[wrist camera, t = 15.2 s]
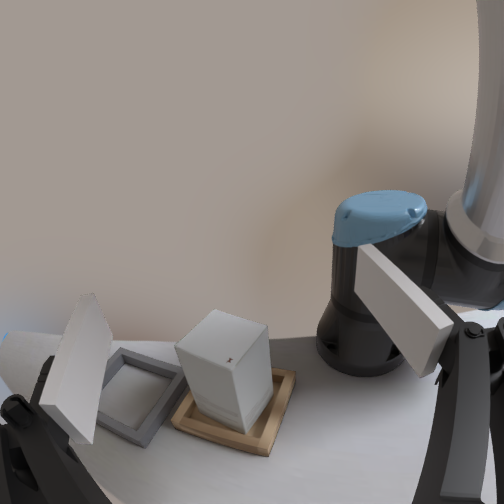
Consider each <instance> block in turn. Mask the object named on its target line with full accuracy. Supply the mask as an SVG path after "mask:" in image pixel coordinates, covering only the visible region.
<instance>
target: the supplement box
mask: <svg viewBox="0 0 504 504" xmlns="http://www.w3.org/2000/svg"><path fill="white" fill-rule="evenodd" d="M174 347H175V349H176V352H177V355H178V358H179V361H180V363H181V366H182V369H183V371H184V374H185V377H186V379H187V382H188V385H189V387H190V390H191V392H192V395H193V397H194V400H195V402H196V405H197V407H198V410H199V412H200V413H201V414H203V415H205V416H207V417H209V418H211V419H213V420H215V421H217V422H219V423H221V424H223V425H225V426H227V427H229V428H231V429H234V430H236V431H238V432H240V433H242V434H245V435H246V434H247V433H248V431H249V430H250V428H251V427H252V426H253V424H254V423H255V422H256V420H257V419H258V417H259V416H260V415H261V413H262V412H263V410H264V409H265V407H266V406H267V405H268V403H269V402H270V400H271V399H272V397H273V395H274V393H273V382H272V371H271V359H270V348H269V337H268V326H267V325H265V324H261V323H258V322H254V321H251V320H248V319H244V318H241V317H238V316H235V315H231V314H228V313H225V312H222V311H219V310H216V309H214V310H212V311H211V312H210V313H209V314H208V315H207V316H206V317H205V318H204V319H203V320H202V321H201V322H199V323H198V324H197V325H196V326H195V327H194V328H193V329H192V330H191V331H190V332H189V333H188V334H187V335H185V336H184V337H183V338H182V339H181V340H180V341H179V342H178V343H176V344H175V345H174Z"/></svg>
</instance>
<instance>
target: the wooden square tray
mask: <svg viewBox="0 0 504 504" xmlns="http://www.w3.org/2000/svg"><path fill="white" fill-rule="evenodd" d="M271 371H272V382H273V393H274V395H273V397H272V399H271V400H270V402H269V403H268V405H267V406H266V407H265V409H264V410H263V412H262V413H261V415H260V416H259V417H258V419H257V420H256V422H255V423H254V424H253V426H252V427H251V428H250V430H249V431H248V433H247V434H246V435H245V434H242V433H240V432H238V431H236V430H234V429H231V428H229V427H227V426H225V425H223V424H221V423H219V422H217V421H215V420H213V419H211V418H209V417H207V416H205V415H203V414H201V413H200V412H199V410H198V407H197V405H196V402H195V400H194V397H193V395H192V392H191V390H190V391H189V392H188V394H187V395H186V397H185V398H184V400H183V402H182V403H181V405H180V406H179V408H178V409H177V411H176V413H175V414H174V416H173V417H172V419H171V422H172V424H173V425H174V427H175V429H177V430H180V431H183V432H186V433H188V434H191V435H194V436H197V437H200V438H203V439H206V440H209V441H212V442H215V443H218V444H222V445H225V446H228V447H232V448H236V449H239V450H243V451H247V452H250V453H254V454H259V455H263V456H267V457H269V454H270V452H271V449H272V447H273V444H274V441H275V439H276V436H277V433H278V430H279V428H280V425H281V422H282V419H283V416H284V414H285V411H286V408H287V405H288V402H289V399H290V396H291V393H292V390H293V387H294V384H295V375H296V371H290V370H284V369H278V368H272V367H271Z"/></svg>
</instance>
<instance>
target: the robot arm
mask: <svg viewBox="0 0 504 504" xmlns="http://www.w3.org/2000/svg"><path fill="white" fill-rule="evenodd" d="M476 2H477V13H478V26H479V83H478V99H477V109H476V119H475V127H474V134H473V141H472V148H471V153H470V159H469V165H468V170H467V175H466V180H465V184H464V188H463V189H460V190H458V191H457V192H455V193H454V194H453V195H452V196H451V197H450V199H449V200H448V203H447V207H446V211H445V212H444V211H437V210H435V211H434V210H428V209H427V205H426V203H425V200H424V199H423V198H422V197H421V196H419V195H417V194H414V193H407V192H406V191H398V190H381V191H371V192H365V193H361V194H358V195H355V196H352V197H350V198H348V199H346V200H345V201H343V202H342V203H341V204H340V205H339V207H338V208H337V210H336V213H335V221H334V232H333V235H332V241H333V261H332V263H333V264H332V284H331V299H330V301H329V303H328V305H327V307H326V309H325V311H324V313H323V316H322V318H321V320H320V322H319V324H318V328H317V338H316V344H317V349H318V351H319V353H320V355H321V357H322V358H323V359H324V360H325V361H326V362H327V363H328V364H329V365H330V366H332V367H333V368H335V369H337V370H339V371H341V372H343V373H346V374H349V375H354V376H361V377H370V376H377V375H382V374H385V373H387V372H389V371H391V370H393V369H395V368H396V367H397V366H399V365H400V364H401V363H402V361H403V360H404V358H405V359H406V360H407V361H408V363H409V364H410V365H411V367H412V368H413V370H414V371H415V372H416V374H417V375H418V377H419V378H422V377H424V376H426V375H428V374H430V373H432V372H434V370H435V368H436V366H437V363H439V364H440V365H441V367H442V369H441V371H440V373H439V375H438V377H437V379H436V382H435V385H437V383H438V381H439V386H438V394H437V401H436V407H435V413H434V419H433V425H432V430H431V435H430V439H429V444H428V448H427V453H426V457H425V461H424V465H423V468H422V472H421V476H420V479H419V483H418V486H417V489H416V492H415V496H414V499H413V502H412V504H485V503H483V502H482V501H481V498H480V497H481V490H482V485H483V479H484V473H485V466H486V458H487V450H488V439H489V426H490V432H491V438H492V445H493V453H494V462H495V473H496V489H497V504H504V317H502V318H501V319H499V321H498V323H497V326H496V327H494V328H487V329H484V328H483V327H482V326H481V325H479V324H478V323H475V322H464V321H463V320H462V319H461V318H460V317H459V316H458V315H457V314H456V313H455V312H454V311H453V310H452V309H451V308H450V307H449V306H448V305H447V304H449V305H456V306H462V307H469V308H475V309H478V310H482V311H490V310H504V0H476ZM112 338H113V334H112V332H111V330H110V328H109V326H108V323H107V322H106V319H105V317H104V315H103V313H102V310H101V308H100V306H99V304H98V301H97V299H96V297H95V294H94V293H91V294H85V295H81V296H80V298H79V301H78V303H77V305H76V307H75V309H74V312H73V314H72V316H71V318H70V321H69V323H68V326H67V328H66V330H65V333H64V335H63V337H62V340H61V342H60V345H59V347H58V350H57V353H56V355H55V356H50V357H49V358H48V359H47V360H46V362H45V363H44V364H43V367H42V369H41V372H40V375H39V377H38V380H37V381H38V383H36V386H35V389H34V391H33V394H32V397H31V400H30V403H28V402H27V401H26V400H25V398H24V397H23V396H21V395H19V394H14V395H11V396H9V397H8V398H7V399H6V400H5V401H4V402H3V404H2V406H1V410H0V414H1V417H2V418H3V419H4V420H5V421H6V422H7V423H8V424H4V425H1V424H0V504H112V503H111V502H110V500H109V499H108V498H107V497H106V495H105V494H104V493H103V492H102V490H101V489H100V488H99V486H98V485H97V484H96V482H95V481H94V480H93V478H92V477H91V475H90V474H89V473H88V471H87V470H86V468H85V467H84V465H83V464H82V462H81V461H80V459H79V458H78V456H77V455H76V453H75V452H74V450H73V449H72V447H71V446H70V445H69V444H68V442H69V437H70V438H71V439H72V440H73V441H74V442H75V443H76V444H88V445H93V438H94V431H95V424H96V418H97V412H98V406H99V400H100V394H101V389H102V384H103V379H104V374H105V369H106V365H107V360H108V355H109V351H110V347H111V343H112Z"/></svg>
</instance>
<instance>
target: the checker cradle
mask: <svg viewBox="0 0 504 504" xmlns="http://www.w3.org/2000/svg"><path fill="white" fill-rule="evenodd" d="M125 362H126V363H129V364H131V365H134V366H137V367H139V368H142V369H145V370H148V371H150V372H153V373H156V374H159V375H162V376H165V377H168V378H171V379H173V380H172V382H171V383H170V384H169V386H168V387H167V389H166V390H165V392H164V393H163V394H162V396H161V397H160V399H159V400H158V402H157V403H156V405H155V406H154V407H153V409H152V410H151V412H150V413H149V415H148V416H147V417H146V419H145V420H144V422H143V423H142V424H141V426H140V427H139V429H138V430H137V431H136V430H134V429H132V428H130V427H128V426H126V425H124V424H122V423H120V422H118V421H116V420H114V419H112V418H110V417H109V416H107V415H105V414H103V413H101V412H99V411H98V412H97V418H96V423H98V424H100V425H102V426H103V427H105V428H107V429H109V430H110V431H112V432H114V433H116V434H118V435H120V436H121V437H123V438H125V439H127V440H129V441H131V442H133V443H135V444H137V445H139V446H141V447H143V448H146V447H147V445H148V444H149V442H150V441H151V439H152V438H153V436H154V435H155V433H156V432H157V430H158V429H159V427H160V426H161V424H162V423H163V421H164V420H165V418H166V417H167V415H168V414H169V412H170V411H171V409H172V408H173V406H174V404H175V403H176V401H177V400H178V398H179V397H180V395H181V394H182V392H183V391H184V389H185V388H186V386H187V384H188V382H187V379H186V377H185V374H184V371H183V369H182V367H179V366H176V365H172V364H169V363H166V362H163V361H159V360H156V359H153V358H150V357H147V356H144V355H141V354H138V353H135V352H132V351H129V350H127V349H124V348H121V347H120V348H119V349H118V350H117V351H116V352H115V353H114V355H113V356H112V357H111V358H110V359H109V360H108V361H107V365H106V369H105V374H104V379H103V384H102V389H103V388H104V387H105V386H106V384H107V383H108V382H109V381H110V380H111V378H112V377H113V376H114V375H115V374H116V373H117V371H118V370H119V369H120V368H121V367H122V366H123V364H124V363H125ZM102 389H101V390H102Z"/></svg>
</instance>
